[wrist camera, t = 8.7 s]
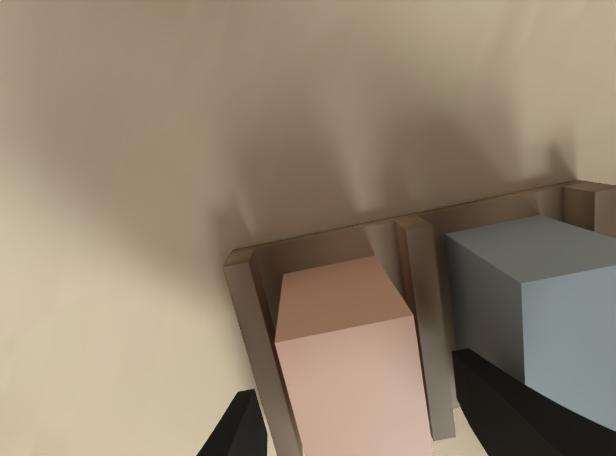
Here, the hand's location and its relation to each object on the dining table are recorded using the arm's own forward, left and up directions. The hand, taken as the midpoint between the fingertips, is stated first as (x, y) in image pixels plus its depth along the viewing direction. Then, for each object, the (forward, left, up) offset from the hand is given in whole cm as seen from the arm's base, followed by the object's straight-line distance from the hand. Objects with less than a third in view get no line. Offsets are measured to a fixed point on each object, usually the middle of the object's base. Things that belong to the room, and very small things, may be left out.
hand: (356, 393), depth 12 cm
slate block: (-7, 0, -3) cm, 8 cm away
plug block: (0, 0, -3) cm, 3 cm away
